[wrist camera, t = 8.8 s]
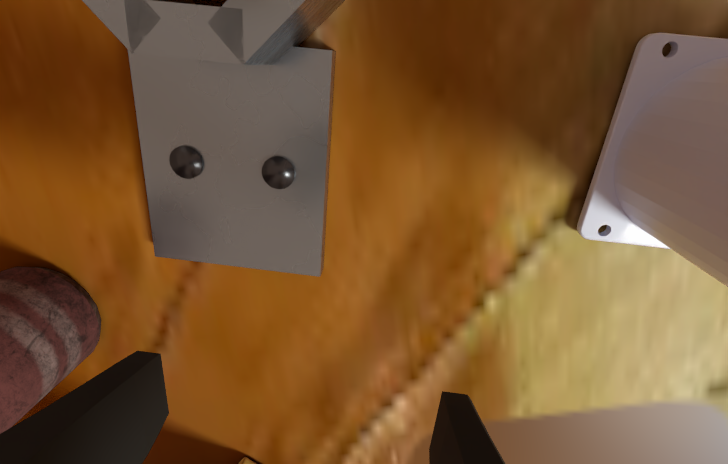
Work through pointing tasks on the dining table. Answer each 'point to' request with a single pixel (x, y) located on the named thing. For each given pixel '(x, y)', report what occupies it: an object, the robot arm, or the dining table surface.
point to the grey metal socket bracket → (231, 127)
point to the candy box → (246, 461)
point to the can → (40, 336)
